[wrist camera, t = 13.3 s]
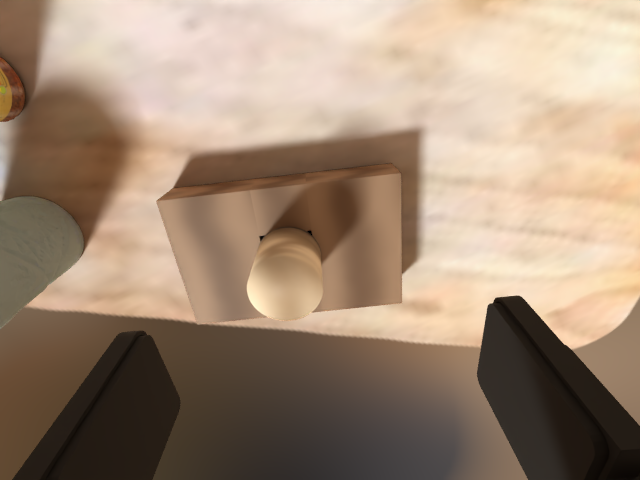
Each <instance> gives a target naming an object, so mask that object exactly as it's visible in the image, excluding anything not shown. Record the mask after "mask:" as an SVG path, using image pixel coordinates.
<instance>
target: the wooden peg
mask: <svg viewBox="0 0 640 480" xmlns="http://www.w3.org/2000/svg"><path fill="white" fill-rule="evenodd" d="M247 294H248V297H249V300H250V302H251V303H252V305H253V306H254V307H255V308H256V309H257V310H258V311H259V312H260V313H262V314H263V315H265V316H267V317H269V318H272V319H275V320H281V321H291V320H297V319H300V318H303V317H305V316H307V315H309V314H310V313H311V312H313V311H314V310H315V309H316V307H317V306H318V305H319V303H320V301H321V299H322V295H323V281H322V263H321V250H320V246H319V244H318V242H317V241H316V239H315V238H314V237H313V236H312V235H311V234H310V233H308V232H307V231H305V230H303V229H300V228H297V227H280V228H277V229H274V230H272V231H271V232H269V233H268V234H266V235H265V236H264V238H263V239H262V240H261V242H260V244H259V247H258V250H257V254H256V257H255V260H254V263H253V266H252V269H251V272H250V276H249V279H248V282H247Z"/></svg>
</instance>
